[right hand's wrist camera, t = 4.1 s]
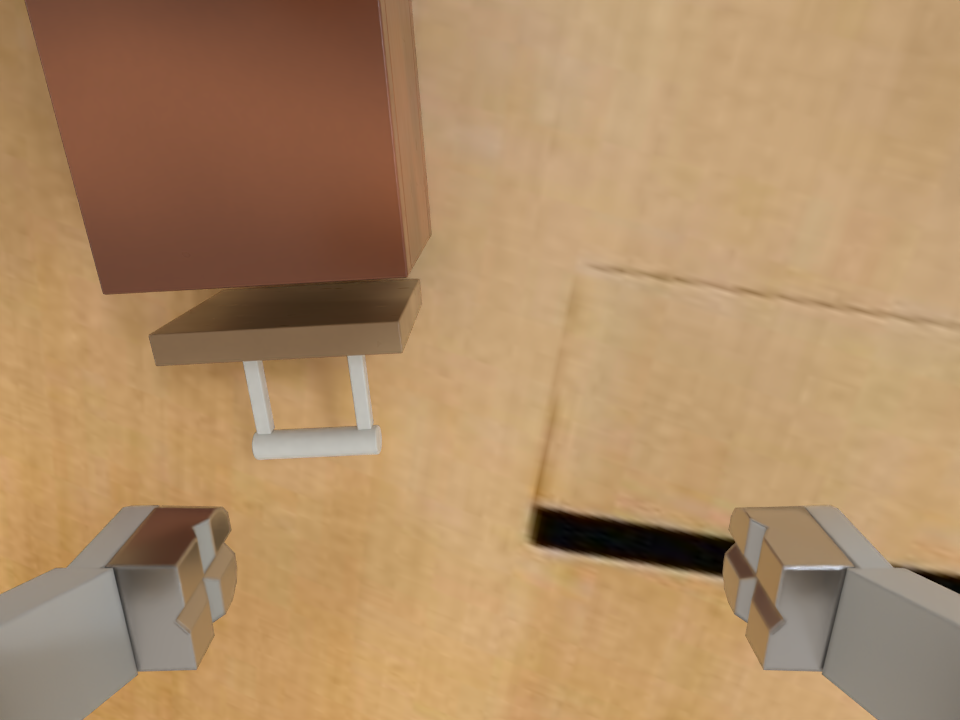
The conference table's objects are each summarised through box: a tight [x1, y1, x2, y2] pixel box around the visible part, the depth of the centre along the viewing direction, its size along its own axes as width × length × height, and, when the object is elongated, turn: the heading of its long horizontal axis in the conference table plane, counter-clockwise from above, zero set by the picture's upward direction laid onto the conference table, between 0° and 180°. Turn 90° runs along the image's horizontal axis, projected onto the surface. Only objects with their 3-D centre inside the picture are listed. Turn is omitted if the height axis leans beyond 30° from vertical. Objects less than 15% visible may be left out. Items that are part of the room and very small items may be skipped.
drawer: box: [149, 279, 422, 460], centre depth 24 cm, size 22×9×7 cm, turn 3°
